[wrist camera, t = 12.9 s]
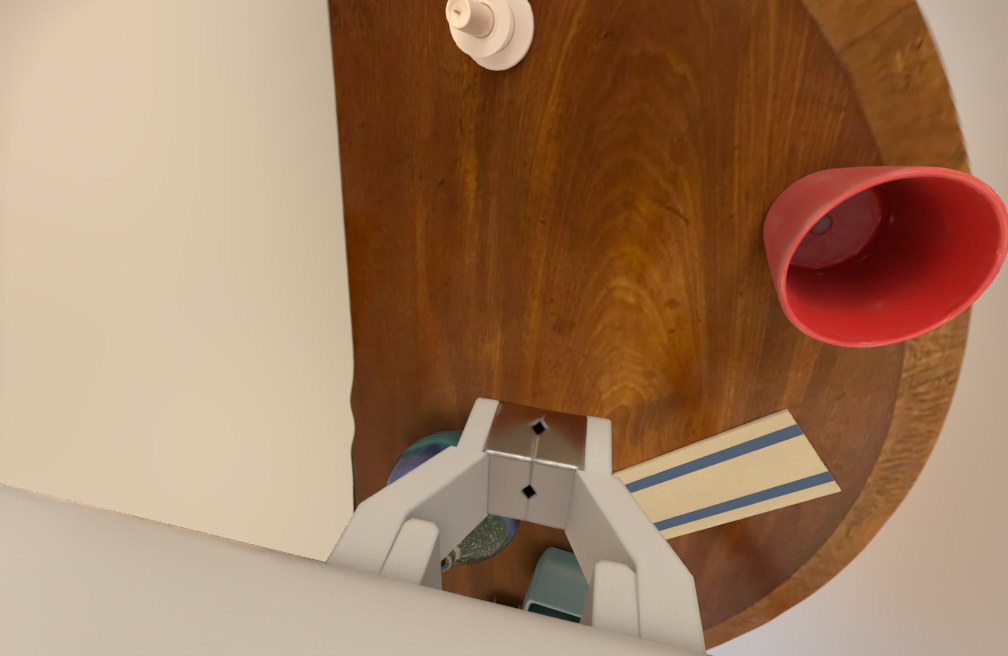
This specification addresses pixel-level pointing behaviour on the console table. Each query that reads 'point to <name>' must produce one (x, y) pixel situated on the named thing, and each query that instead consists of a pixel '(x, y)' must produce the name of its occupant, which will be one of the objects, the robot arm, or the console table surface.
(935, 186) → the flower pot
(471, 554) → the vase
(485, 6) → the candle
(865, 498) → the console table surface
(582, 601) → the flower pot
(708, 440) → the cloth
